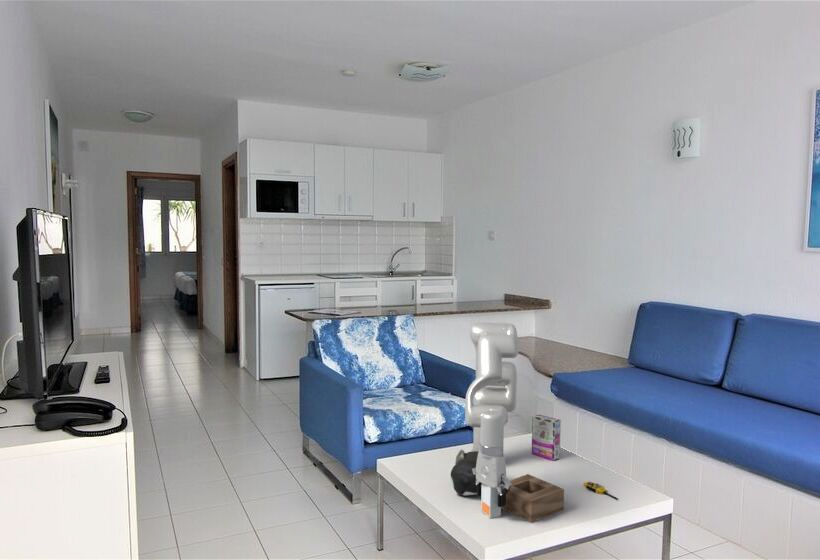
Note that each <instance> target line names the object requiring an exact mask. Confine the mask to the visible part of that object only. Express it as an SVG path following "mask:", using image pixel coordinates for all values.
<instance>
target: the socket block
mask: <svg viewBox="0 0 820 560" xmlns="http://www.w3.org/2000/svg"><path fill="white" fill-rule="evenodd" d="M508 480H509V481H510V482H511V483H512V486H511V488H510V491H509V492H508V493H507V494H506V505H505V506H502V507H501V509H503V510H505V511H507V512H509V513H510V514H513V515H516V516H518V517H519V518H521V519H523V520H525V521H527V522H529V523H533V522H536V521H538V520H541V519H543V518H545V517H548V516H550V515H553V514H555V513H558V512H560V511H563V510H564V508H565V506H564V505H565V503H564V502H565V501H564V500H565V499H564V498H565V488H563V487H560V486H557V485H555V484H554V483H551V482H549V481H546V480H544V479H541V478H539V477H536V476H534V475H531V474H529V473H527V474H524V475H521V476H518V477H514V478H511V479H508ZM505 486H506V485H505ZM501 490H503V489H502V487H501Z"/></svg>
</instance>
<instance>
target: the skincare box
mask: <svg viewBox="0 0 820 560" xmlns="http://www.w3.org/2000/svg"><path fill="white" fill-rule="evenodd" d="M500 483H501V482H500ZM500 488H501V487H500ZM498 495H499V492H498V490H497V488H492V487H490V486H487V485H485V484H483V483H482V487H481V496H480V500H481V502H480V509H481V510H480V511H481V512H482V513H484V515H486V516H487V517H488V518H489V519H493V518H499V517H502V516H501V515H502V512H501V511H502V508H501V507H498Z"/></svg>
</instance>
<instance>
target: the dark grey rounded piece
mask: <svg viewBox="0 0 820 560" xmlns="http://www.w3.org/2000/svg"><path fill="white" fill-rule="evenodd" d="M478 453H479V451H473V452H470V451H468V452H465V450H463V449H460V450H459V451H458V452H457V454H456V458H455V463H454V466H452V468H451V471H450V482H451V485H452V487H453V489H454V491H455V492H456V494H457V495H459V496H473V495H477V484H476V483H475V482H476V480H475V479H474V474H473V471H472V469H473V468H476V463H477V457H478Z"/></svg>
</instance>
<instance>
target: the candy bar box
mask: <svg viewBox="0 0 820 560" xmlns="http://www.w3.org/2000/svg"><path fill="white" fill-rule="evenodd" d="M531 421H532V422H531V428H532V429H531V455H532V456H536V457H539V458H543V459H545V460H549V461H557V460H559V459H560V458H561V421H562V420H561V419H558V418H555V417H550V416H546V415H542V414H535V415H533V416H532V417H531Z"/></svg>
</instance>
